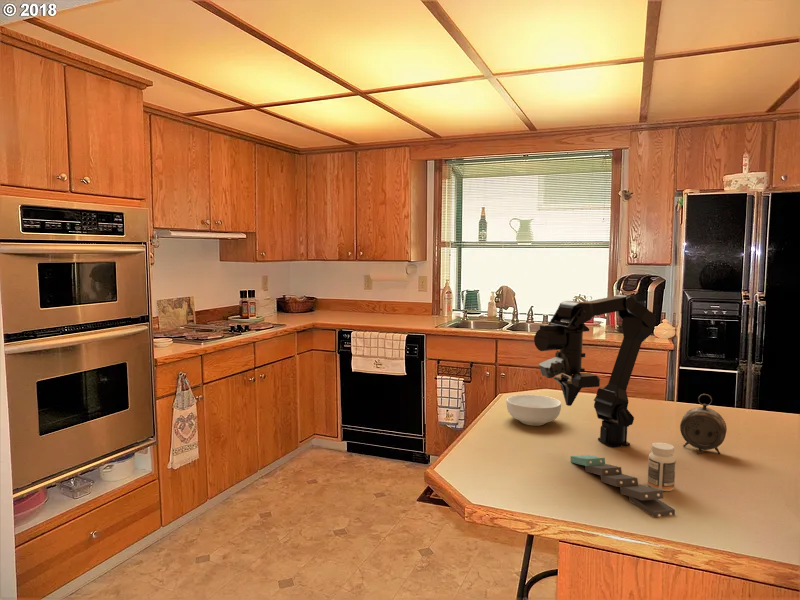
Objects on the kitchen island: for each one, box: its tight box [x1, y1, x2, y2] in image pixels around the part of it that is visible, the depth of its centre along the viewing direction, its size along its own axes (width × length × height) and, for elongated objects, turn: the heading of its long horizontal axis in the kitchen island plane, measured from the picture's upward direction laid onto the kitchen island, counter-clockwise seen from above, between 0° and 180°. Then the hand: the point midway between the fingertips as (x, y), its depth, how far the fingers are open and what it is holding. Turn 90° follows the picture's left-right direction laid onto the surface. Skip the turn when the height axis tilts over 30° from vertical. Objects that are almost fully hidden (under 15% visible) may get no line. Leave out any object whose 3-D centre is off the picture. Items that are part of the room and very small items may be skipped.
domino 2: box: [584, 463, 623, 476], centre depth 135 cm, size 5×2×8 cm
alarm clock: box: [679, 393, 728, 455], centre depth 151 cm, size 11×5×16 cm, turn 56°
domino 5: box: [628, 496, 676, 518], centre depth 119 cm, size 5×2×8 cm
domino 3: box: [600, 473, 639, 488], centre depth 128 cm, size 5×2×8 cm
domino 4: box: [619, 483, 664, 500], centre depth 121 cm, size 5×2×8 cm
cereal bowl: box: [505, 393, 562, 427], centre depth 177 cm, size 17×17×7 cm
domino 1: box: [569, 454, 606, 467], centre depth 140 cm, size 5×2×8 cm
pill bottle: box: [647, 441, 677, 492], centre depth 129 cm, size 6×6×10 cm
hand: (568, 405), depth 150 cm, fingers closed
